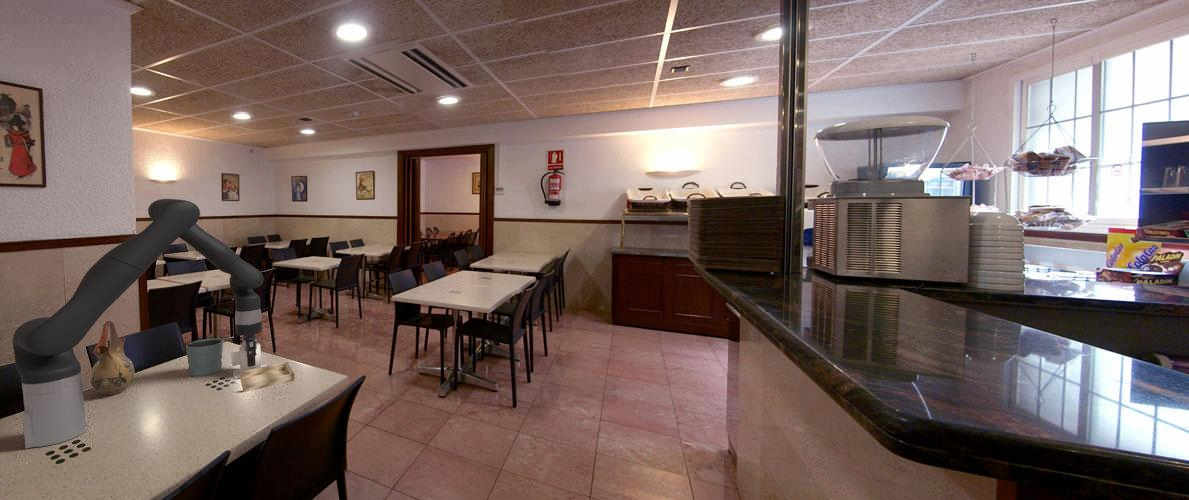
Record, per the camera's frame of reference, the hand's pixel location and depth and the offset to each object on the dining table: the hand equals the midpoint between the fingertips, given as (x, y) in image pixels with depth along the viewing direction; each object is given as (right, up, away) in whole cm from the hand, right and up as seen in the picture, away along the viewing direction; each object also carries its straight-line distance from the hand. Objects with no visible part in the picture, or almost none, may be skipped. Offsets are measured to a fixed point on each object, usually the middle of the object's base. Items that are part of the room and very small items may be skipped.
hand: (250, 363), depth 147 cm
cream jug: (-1, -2, -1) cm, 2 cm away
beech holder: (+11, -5, -5) cm, 13 cm away
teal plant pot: (-16, -4, -1) cm, 17 cm away
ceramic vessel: (-30, -5, -18) cm, 35 cm away
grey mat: (0, -4, 0) cm, 4 cm away
